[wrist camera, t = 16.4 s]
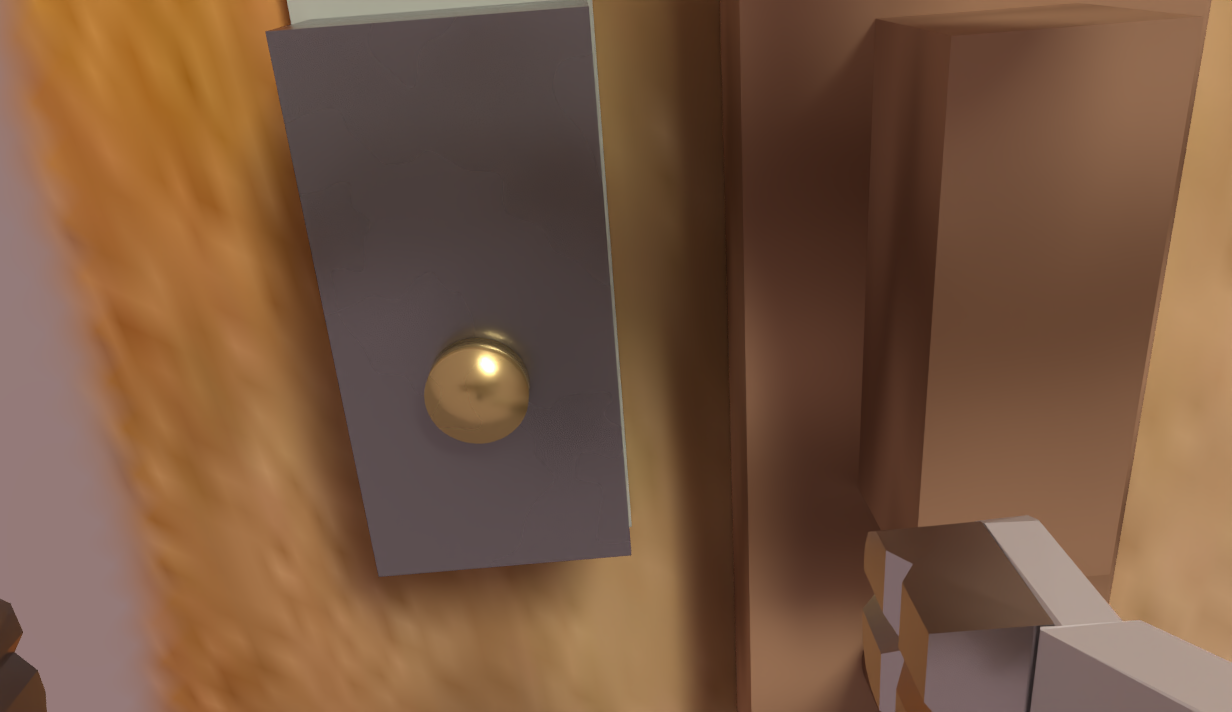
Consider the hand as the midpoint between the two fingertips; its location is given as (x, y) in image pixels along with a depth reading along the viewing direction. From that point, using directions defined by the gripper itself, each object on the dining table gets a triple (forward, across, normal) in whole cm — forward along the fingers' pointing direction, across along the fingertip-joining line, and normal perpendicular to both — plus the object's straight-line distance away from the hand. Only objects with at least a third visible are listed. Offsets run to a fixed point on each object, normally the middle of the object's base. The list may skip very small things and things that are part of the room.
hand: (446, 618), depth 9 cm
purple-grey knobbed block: (+9, 0, -1) cm, 9 cm away
